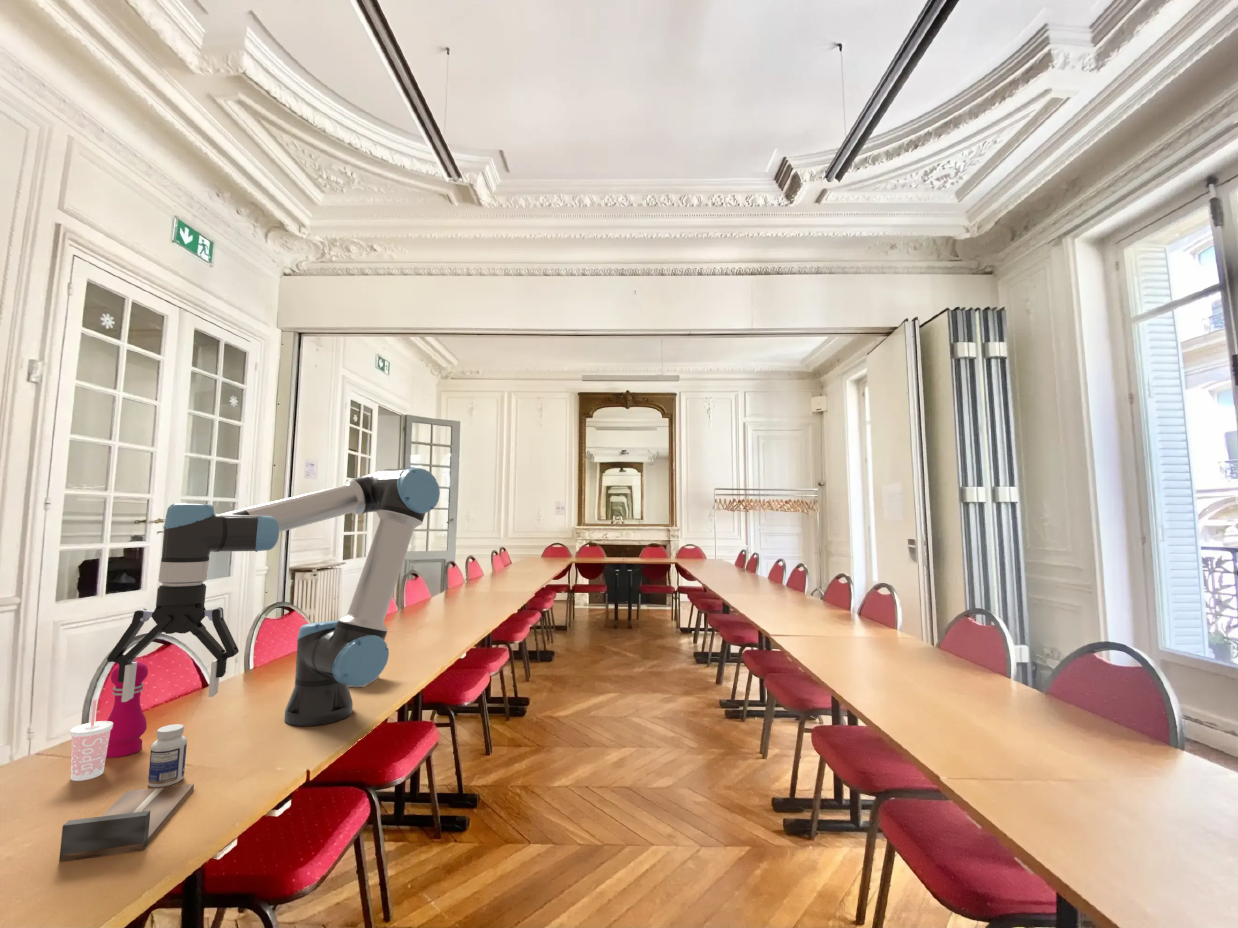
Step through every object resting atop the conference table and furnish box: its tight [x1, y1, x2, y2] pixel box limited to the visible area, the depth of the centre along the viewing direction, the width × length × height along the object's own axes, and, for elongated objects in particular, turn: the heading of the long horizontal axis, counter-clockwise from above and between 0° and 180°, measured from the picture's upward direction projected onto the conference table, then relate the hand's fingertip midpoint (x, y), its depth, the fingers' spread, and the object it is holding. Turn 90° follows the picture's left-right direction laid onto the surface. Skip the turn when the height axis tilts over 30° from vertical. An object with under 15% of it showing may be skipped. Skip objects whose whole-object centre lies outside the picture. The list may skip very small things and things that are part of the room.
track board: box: [58, 783, 195, 863], centre depth 94 cm, size 10×20×5 cm, turn 19°
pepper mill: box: [106, 655, 149, 759], centre depth 121 cm, size 7×7×20 cm
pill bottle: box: [147, 723, 188, 788], centre depth 108 cm, size 5×5×10 cm
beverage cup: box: [69, 698, 113, 782], centre depth 110 cm, size 6×6×14 cm
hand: (171, 697), depth 109 cm, fingers open, 13 cm apart
